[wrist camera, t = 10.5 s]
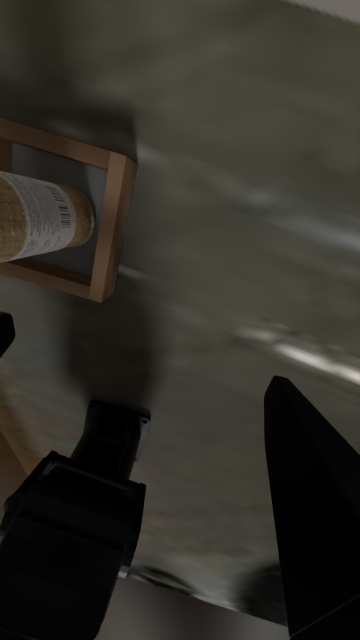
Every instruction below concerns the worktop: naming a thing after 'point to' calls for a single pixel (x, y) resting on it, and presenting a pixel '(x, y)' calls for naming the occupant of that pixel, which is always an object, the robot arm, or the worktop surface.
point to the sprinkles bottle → (41, 217)
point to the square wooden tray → (96, 184)
